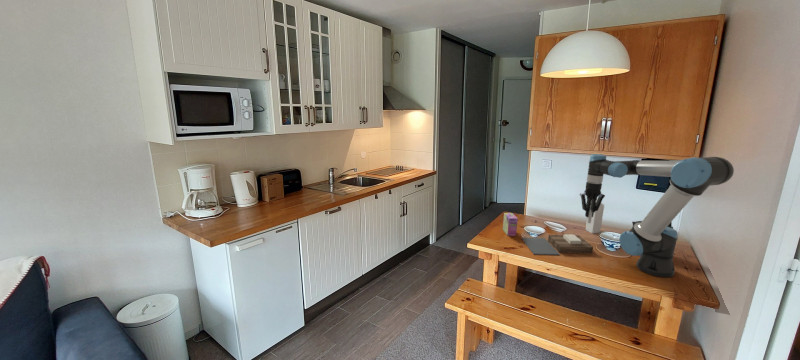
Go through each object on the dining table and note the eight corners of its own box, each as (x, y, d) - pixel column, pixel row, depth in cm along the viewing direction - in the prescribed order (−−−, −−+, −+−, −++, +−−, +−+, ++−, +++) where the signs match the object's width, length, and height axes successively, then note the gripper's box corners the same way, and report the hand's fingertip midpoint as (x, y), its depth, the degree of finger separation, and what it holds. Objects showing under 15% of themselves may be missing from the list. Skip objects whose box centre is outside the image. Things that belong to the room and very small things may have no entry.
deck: (592, 253, 182) (593, 246, 181) (559, 252, 183) (559, 246, 182) (578, 241, 198) (579, 235, 197) (548, 240, 198) (548, 234, 198)
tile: (580, 244, 185) (581, 240, 184) (569, 243, 185) (570, 240, 185) (573, 237, 193) (573, 234, 193) (563, 237, 194) (563, 234, 193)
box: (516, 235, 206) (517, 218, 203) (507, 235, 206) (508, 218, 203) (511, 229, 216) (512, 212, 213) (502, 229, 216) (503, 212, 214)
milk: (592, 233, 210) (596, 200, 205) (585, 230, 216) (589, 198, 210) (600, 232, 211) (605, 200, 206) (593, 229, 217) (597, 197, 211)
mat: (559, 255, 180) (559, 254, 180) (533, 254, 181) (533, 253, 181) (544, 238, 201) (544, 238, 201) (521, 238, 202) (521, 237, 202)
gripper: (602, 180, 184) (596, 220, 190) (578, 180, 185) (573, 219, 190) (610, 184, 177) (603, 224, 183) (585, 183, 177) (579, 224, 183)
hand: (588, 222), depth 186 cm, fingers closed
